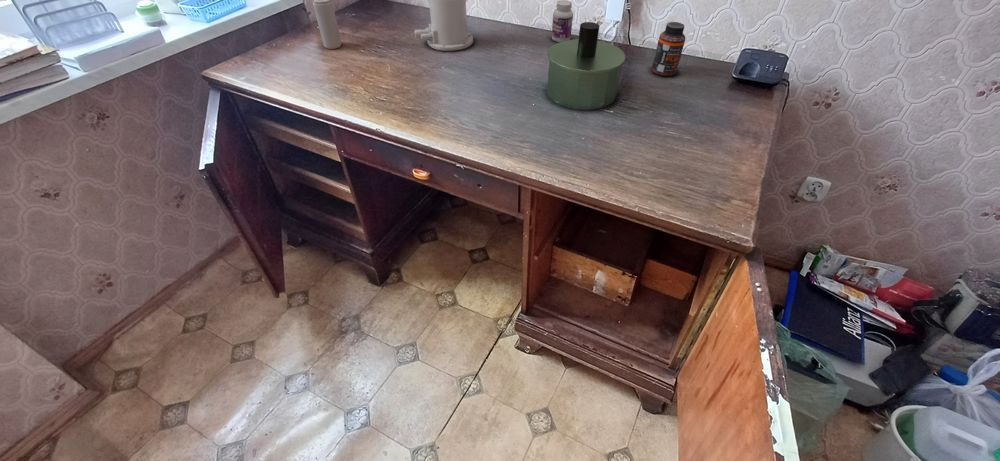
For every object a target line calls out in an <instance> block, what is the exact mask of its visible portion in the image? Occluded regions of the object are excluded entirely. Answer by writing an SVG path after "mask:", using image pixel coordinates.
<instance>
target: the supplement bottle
mask: <svg viewBox="0 0 1000 461" xmlns="http://www.w3.org/2000/svg"><path fill="white" fill-rule="evenodd" d="M684 31H685V24H684V23H682V22H678V21H669V22H667V23H666V25H665V30H663V31H662V32H661V33H660V34H659V37H658V41H657V45H656V49H655V53H654V57H653V60H652V64H651V70H652V72H653V73H654V74H656V75H658V76H662V77H671V76H674V75H675V74H676V73H677V70H678V68H679V64H680V61H681V56H682V54H683V50H684V46H685V42H686V35H685V34H684Z"/></svg>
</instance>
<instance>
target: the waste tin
mask: <svg viewBox="0 0 1000 461" xmlns="http://www.w3.org/2000/svg"><path fill="white" fill-rule="evenodd" d="M622 68H623V65H622V66H621V67H619V68H617V69H615V70H612V71H609V72H604V73H578V72H572V71H568V70H565V69H562V68H559V67H557V66H556V65H554V64H553V63H551V62H550V60H549V59H548V75H547V86H546V87H547V88H546V89H547V91H546V94H547V96H548V98H549V99H550V100H551V101H552V102H553V103H556V104H557V105H559V106H560V107H564V108H567V109H572V110H582V111H591V110H599V109H602V108H603V109H604V108H606V107H608V106H610V105H611V104H613V103H614V102H615V100H616V97H617V96H618V90H619V84H620V79H621V75H622V74H621V73H622Z"/></svg>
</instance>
